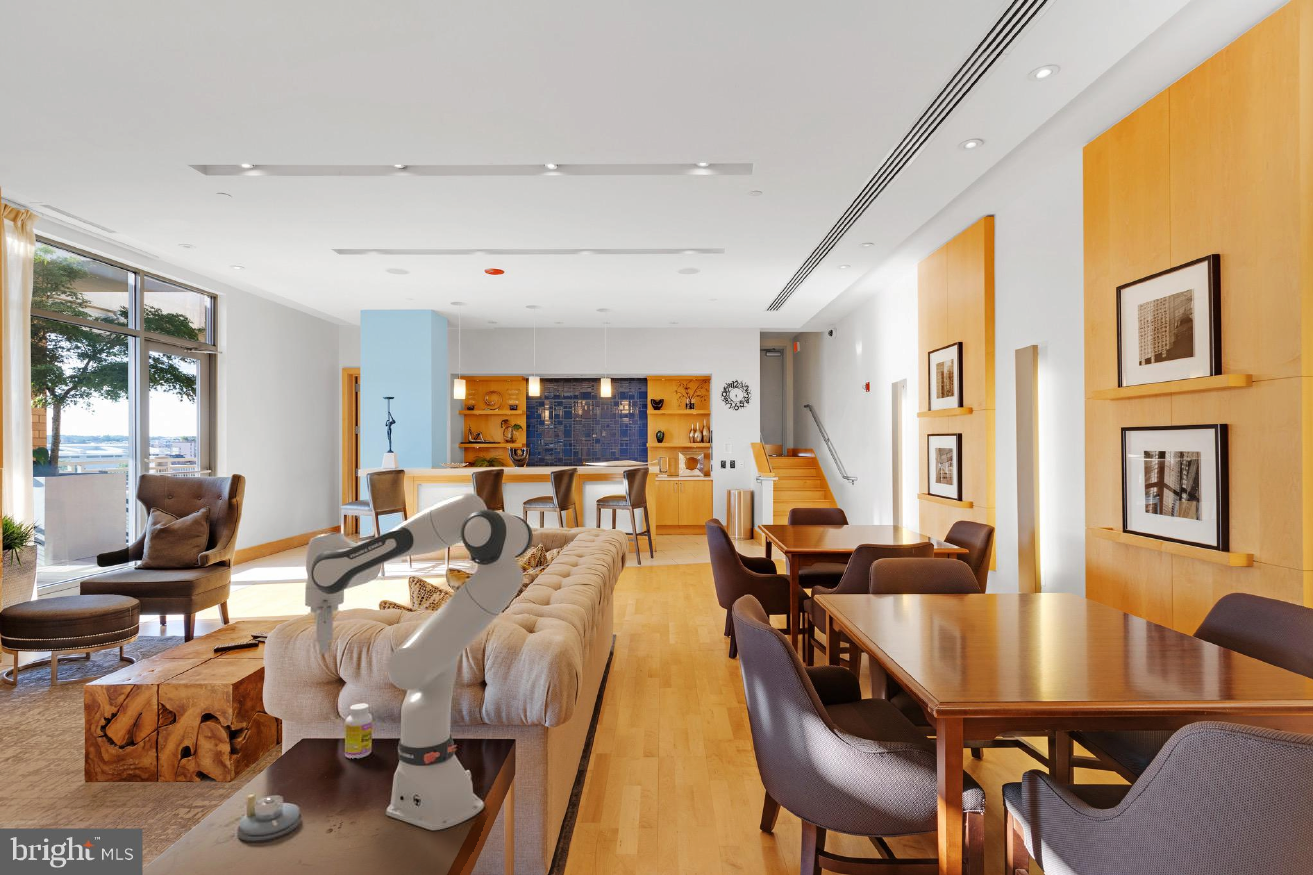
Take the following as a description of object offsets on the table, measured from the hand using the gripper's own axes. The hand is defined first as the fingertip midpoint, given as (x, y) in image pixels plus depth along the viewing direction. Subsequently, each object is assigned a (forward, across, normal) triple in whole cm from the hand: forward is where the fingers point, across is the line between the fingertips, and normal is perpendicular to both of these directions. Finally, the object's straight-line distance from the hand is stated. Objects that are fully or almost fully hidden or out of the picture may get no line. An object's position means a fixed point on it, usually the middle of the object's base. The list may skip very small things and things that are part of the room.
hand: (323, 652), depth 173 cm
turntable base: (+31, -21, +10) cm, 39 cm away
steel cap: (+29, -21, +10) cm, 37 cm away
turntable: (+30, -21, +10) cm, 38 cm away
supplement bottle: (+31, +11, -9) cm, 34 cm away
